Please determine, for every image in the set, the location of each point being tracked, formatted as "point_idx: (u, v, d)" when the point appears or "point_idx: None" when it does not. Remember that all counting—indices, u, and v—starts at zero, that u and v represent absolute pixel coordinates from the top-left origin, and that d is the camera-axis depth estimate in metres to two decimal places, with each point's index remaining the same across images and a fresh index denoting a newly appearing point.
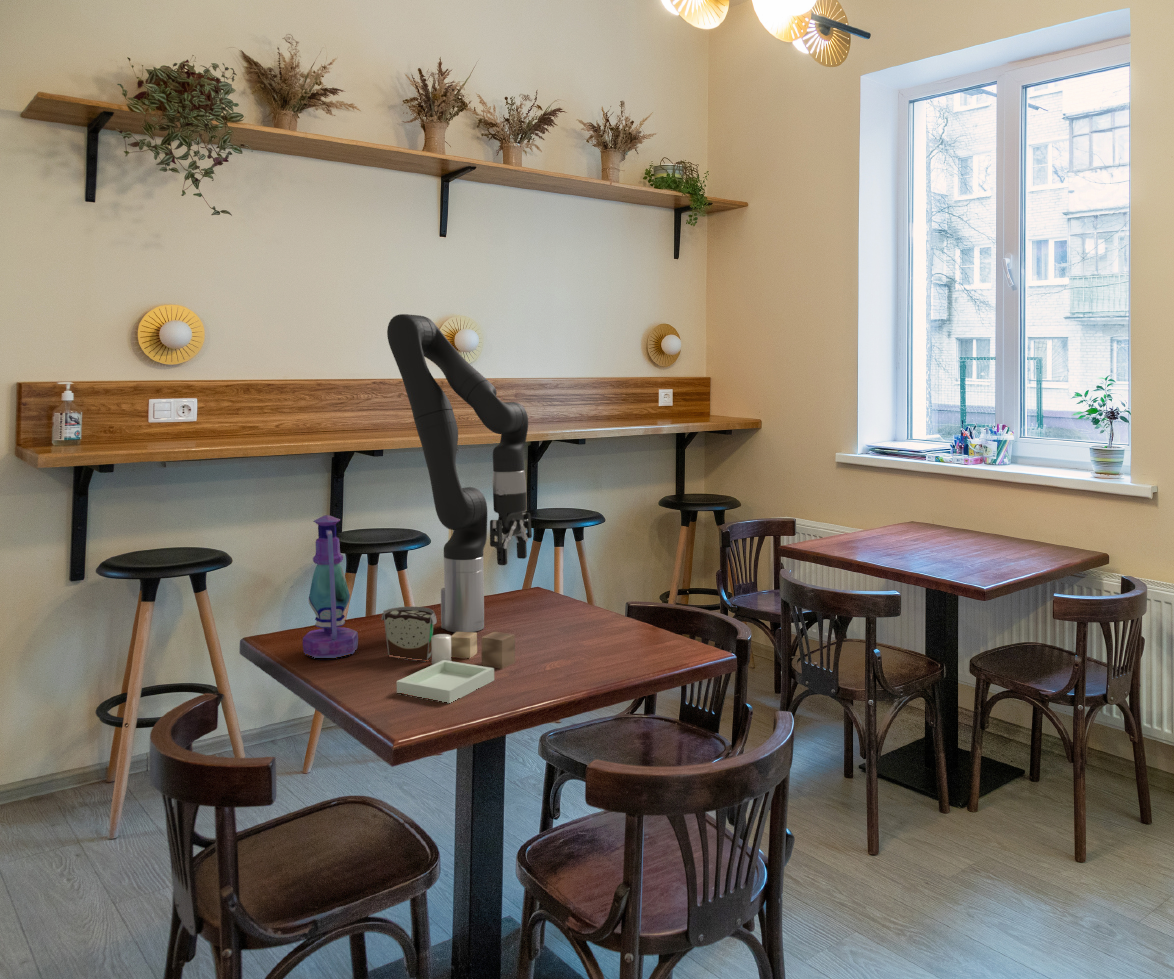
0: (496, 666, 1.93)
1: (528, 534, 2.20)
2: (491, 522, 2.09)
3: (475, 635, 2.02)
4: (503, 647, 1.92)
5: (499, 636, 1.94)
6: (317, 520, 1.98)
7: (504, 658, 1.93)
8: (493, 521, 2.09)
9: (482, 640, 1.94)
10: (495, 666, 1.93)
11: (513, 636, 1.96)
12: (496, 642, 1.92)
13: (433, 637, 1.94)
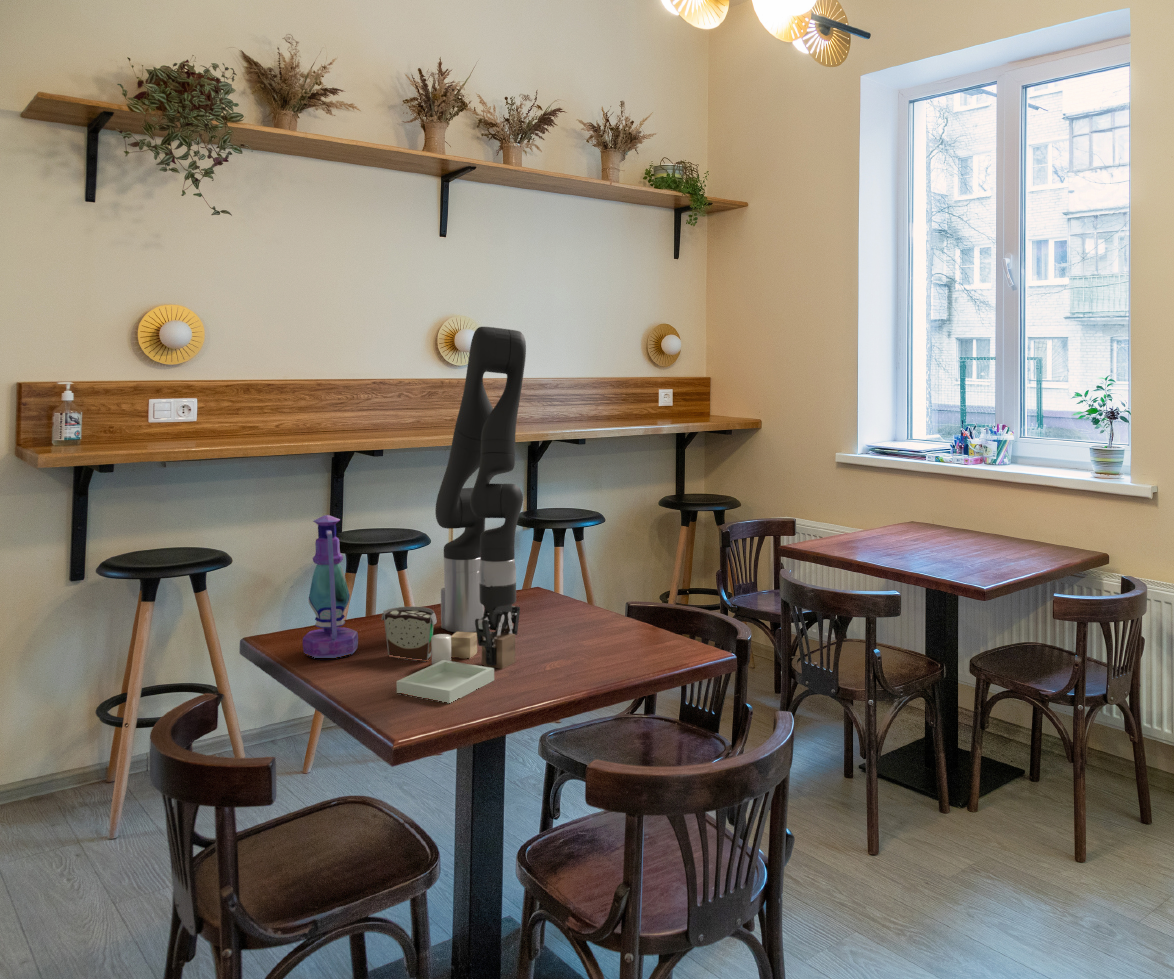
0: (496, 666, 1.93)
1: (514, 630, 1.99)
2: (476, 622, 1.89)
3: (475, 635, 2.02)
4: (504, 647, 1.92)
5: (499, 636, 1.94)
6: (317, 520, 1.98)
7: (504, 658, 1.93)
8: (478, 621, 1.89)
9: None
10: (495, 666, 1.93)
11: (513, 636, 1.96)
12: None
13: (433, 637, 1.94)
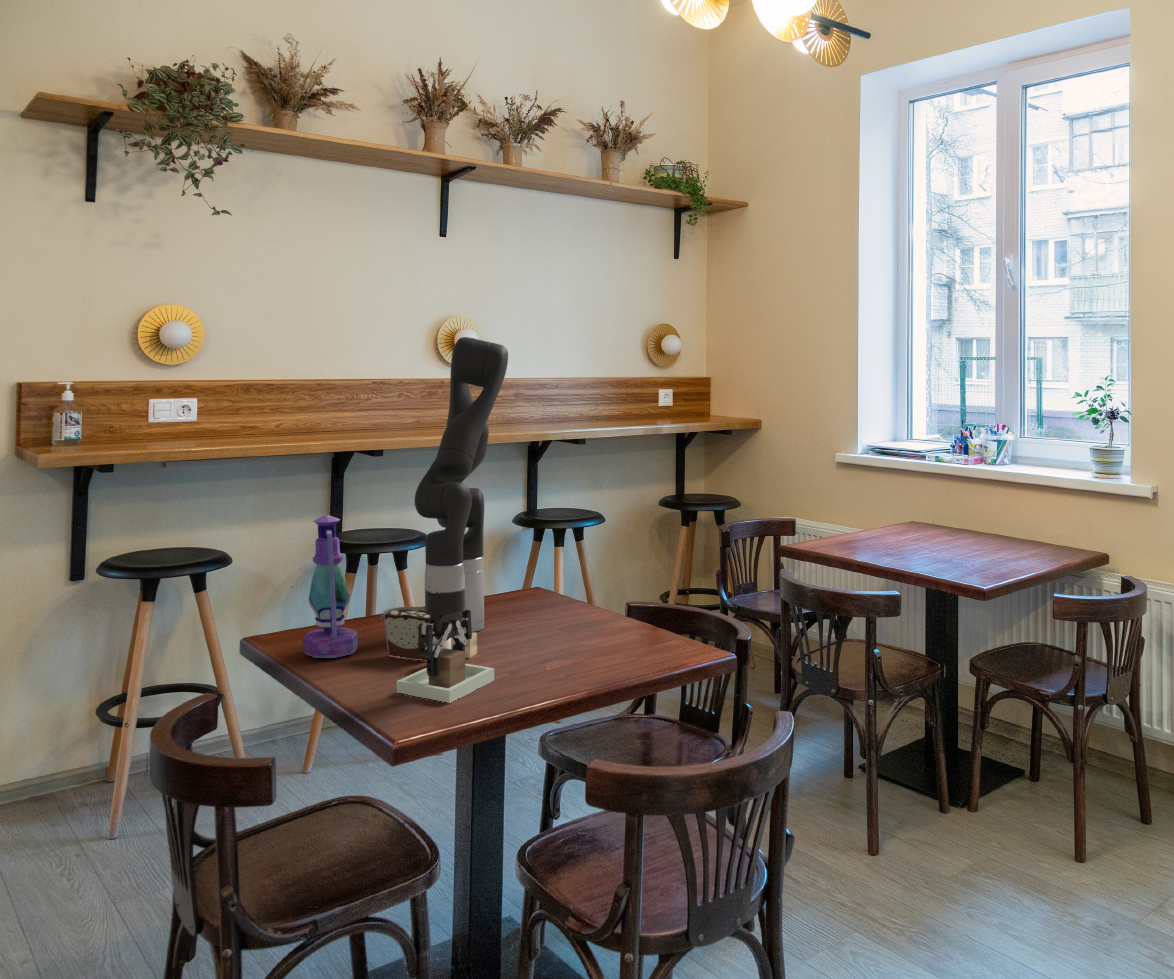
0: (444, 686, 1.78)
1: (467, 635, 1.85)
2: (420, 627, 1.74)
3: (475, 635, 2.02)
4: (452, 666, 1.78)
5: (447, 654, 1.80)
6: (317, 520, 1.98)
7: (452, 677, 1.78)
8: (422, 625, 1.74)
9: None
10: (443, 686, 1.78)
11: (463, 653, 1.81)
12: (444, 660, 1.78)
13: None
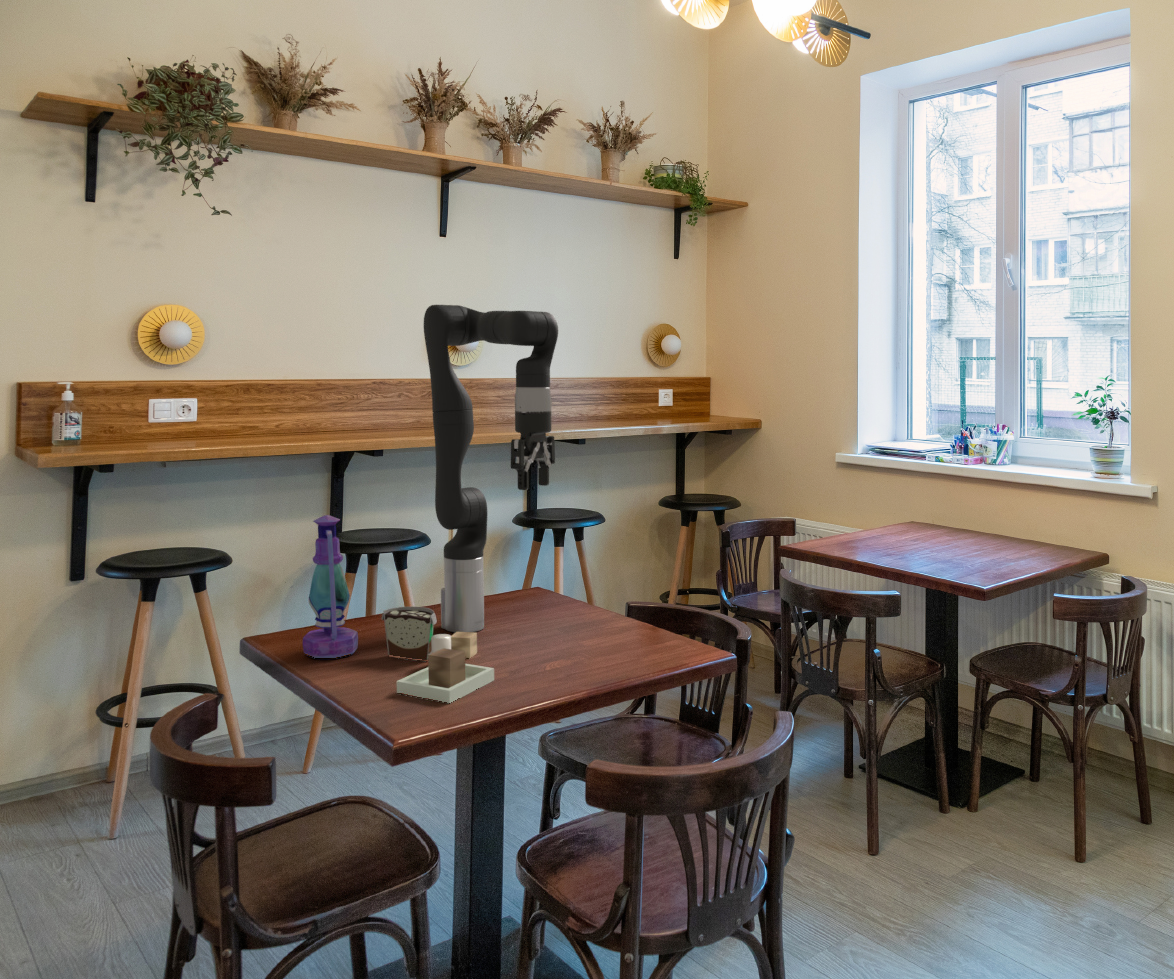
0: (444, 686, 1.78)
1: (551, 459, 2.01)
2: (512, 441, 1.90)
3: (475, 635, 2.02)
4: (452, 666, 1.78)
5: (447, 654, 1.80)
6: (317, 520, 1.98)
7: (452, 677, 1.78)
8: (515, 440, 1.90)
9: (429, 658, 1.79)
10: (443, 686, 1.78)
11: (463, 653, 1.81)
12: (444, 660, 1.78)
13: (433, 637, 1.94)
